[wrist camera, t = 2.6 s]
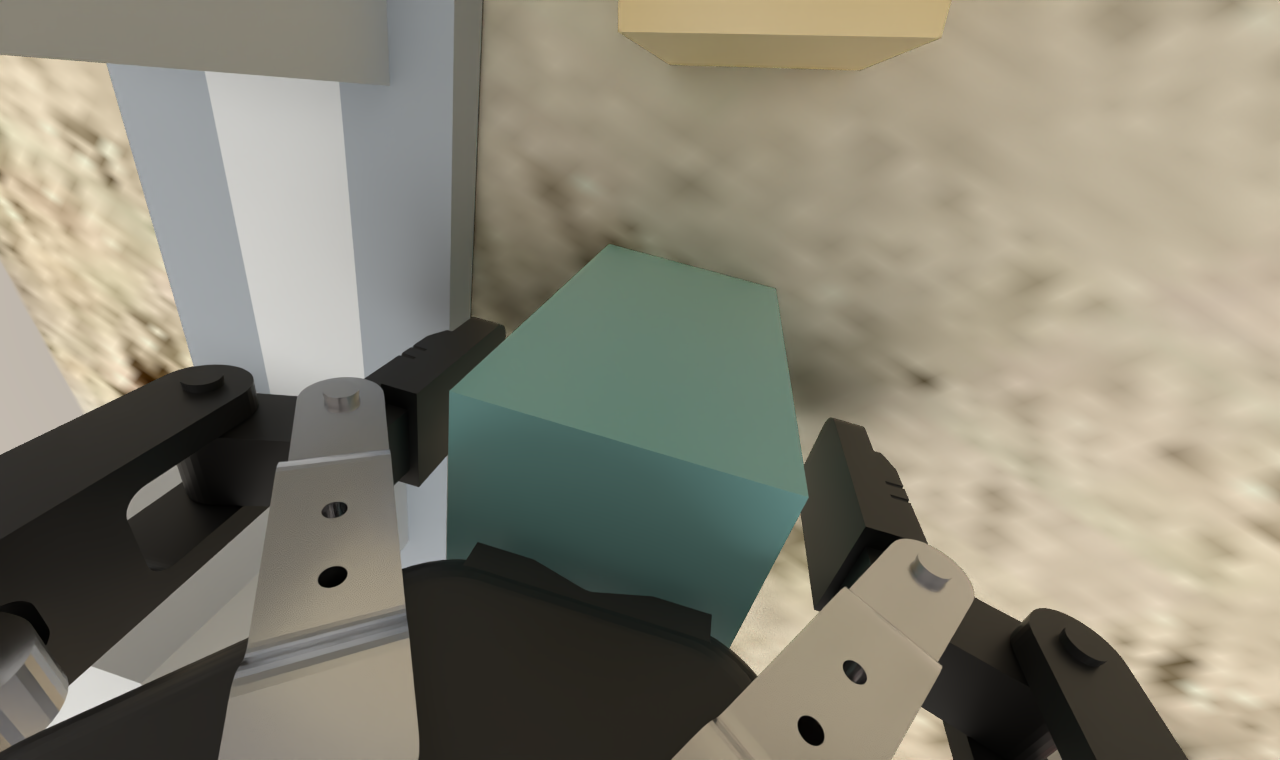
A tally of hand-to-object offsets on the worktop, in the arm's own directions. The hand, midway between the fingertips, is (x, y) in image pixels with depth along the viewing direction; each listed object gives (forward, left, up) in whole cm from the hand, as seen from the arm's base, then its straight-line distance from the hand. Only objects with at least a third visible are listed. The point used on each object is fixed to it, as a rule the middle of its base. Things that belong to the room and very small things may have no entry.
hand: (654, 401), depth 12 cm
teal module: (0, 0, -3) cm, 3 cm away
